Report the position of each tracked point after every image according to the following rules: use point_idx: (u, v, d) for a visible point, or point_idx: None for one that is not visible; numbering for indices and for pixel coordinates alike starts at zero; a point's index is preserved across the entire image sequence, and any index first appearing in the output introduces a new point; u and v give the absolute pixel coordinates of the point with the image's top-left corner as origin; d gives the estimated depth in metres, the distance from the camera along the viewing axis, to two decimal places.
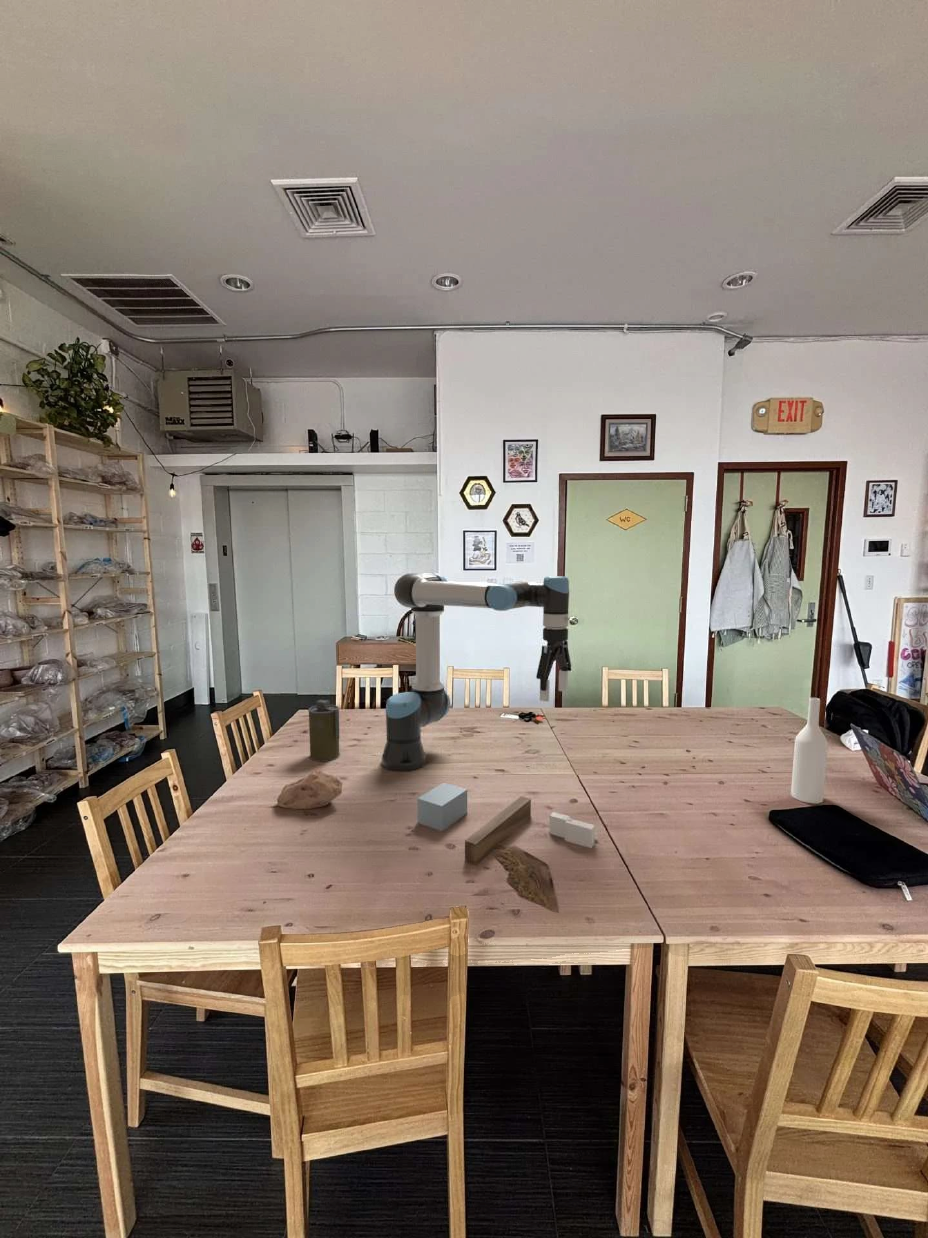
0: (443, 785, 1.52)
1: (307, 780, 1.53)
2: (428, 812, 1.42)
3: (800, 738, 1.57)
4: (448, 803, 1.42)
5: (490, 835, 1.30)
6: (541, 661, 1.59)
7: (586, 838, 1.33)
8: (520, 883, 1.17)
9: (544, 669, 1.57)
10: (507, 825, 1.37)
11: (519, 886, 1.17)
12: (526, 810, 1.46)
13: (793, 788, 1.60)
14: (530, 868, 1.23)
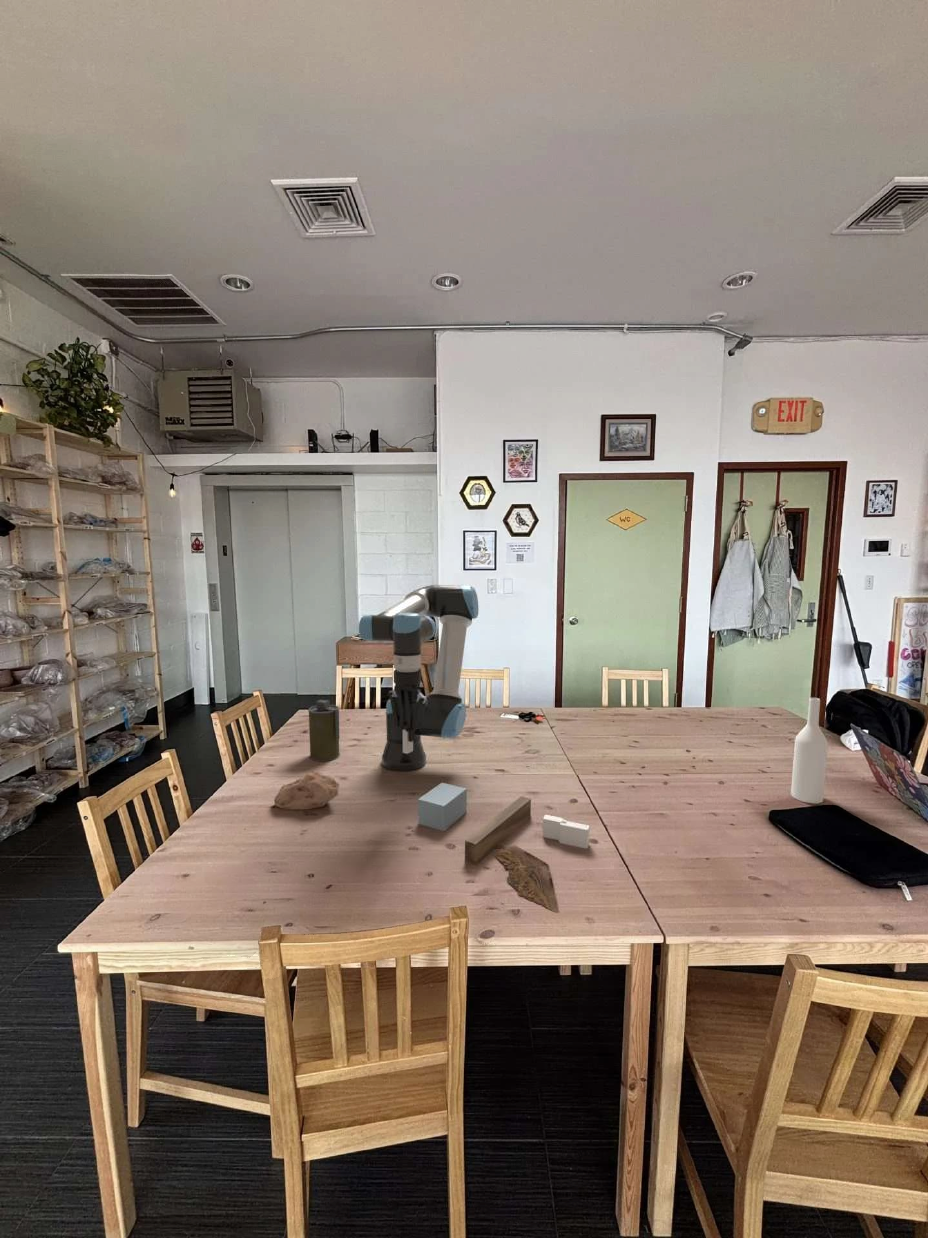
0: (441, 785, 1.52)
1: (303, 781, 1.52)
2: (429, 812, 1.42)
3: (800, 738, 1.57)
4: (449, 803, 1.42)
5: (490, 835, 1.30)
6: None
7: (582, 839, 1.32)
8: (520, 883, 1.17)
9: None
10: (507, 825, 1.37)
11: (519, 886, 1.17)
12: (526, 810, 1.46)
13: (793, 788, 1.60)
14: (530, 868, 1.23)
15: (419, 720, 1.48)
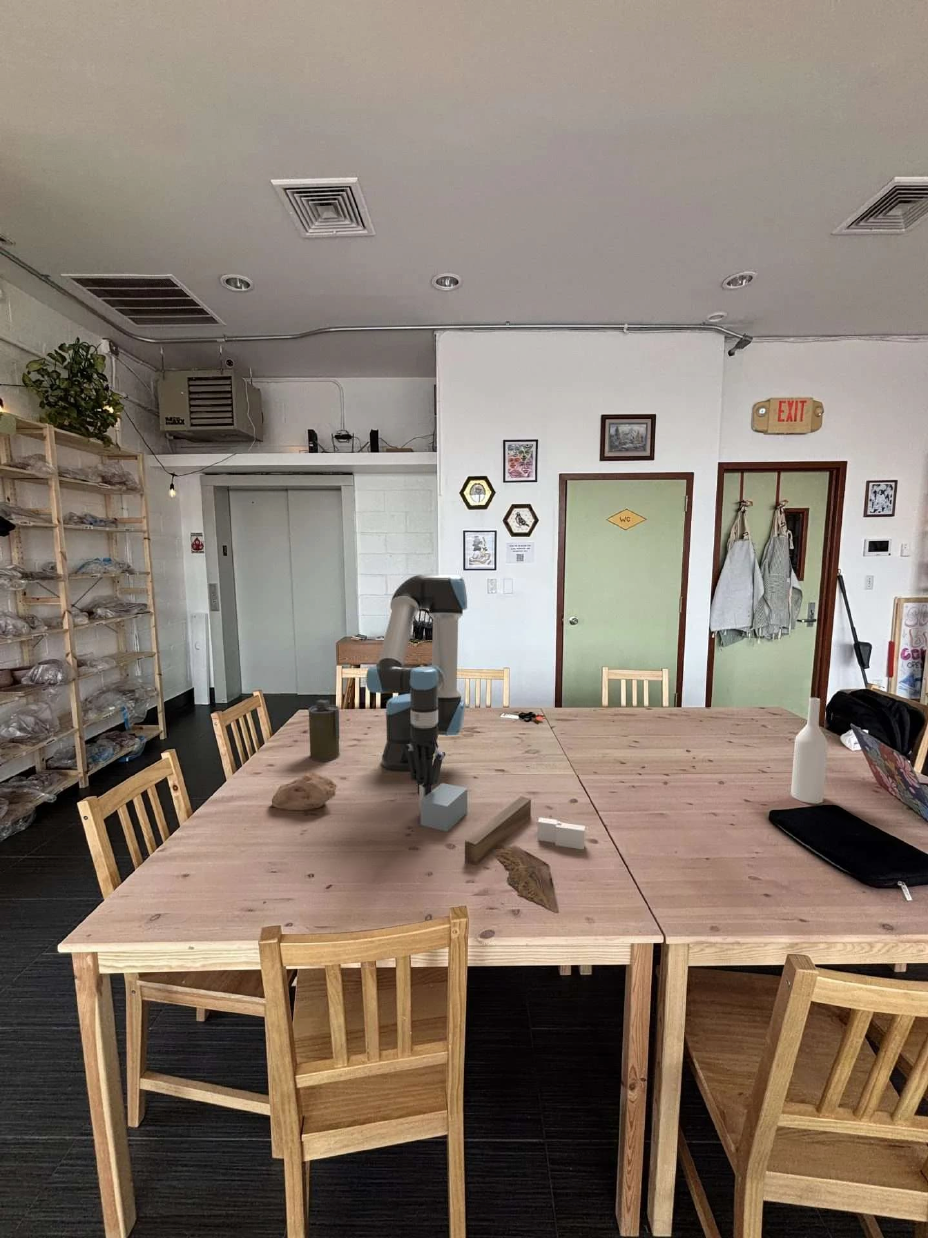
0: (442, 785, 1.52)
1: (300, 781, 1.52)
2: (432, 813, 1.41)
3: (800, 738, 1.57)
4: (452, 803, 1.42)
5: (490, 835, 1.30)
6: None
7: (578, 840, 1.32)
8: (520, 883, 1.17)
9: None
10: (507, 825, 1.37)
11: (519, 886, 1.17)
12: (526, 810, 1.46)
13: (793, 788, 1.60)
14: (530, 868, 1.23)
15: (436, 776, 1.47)
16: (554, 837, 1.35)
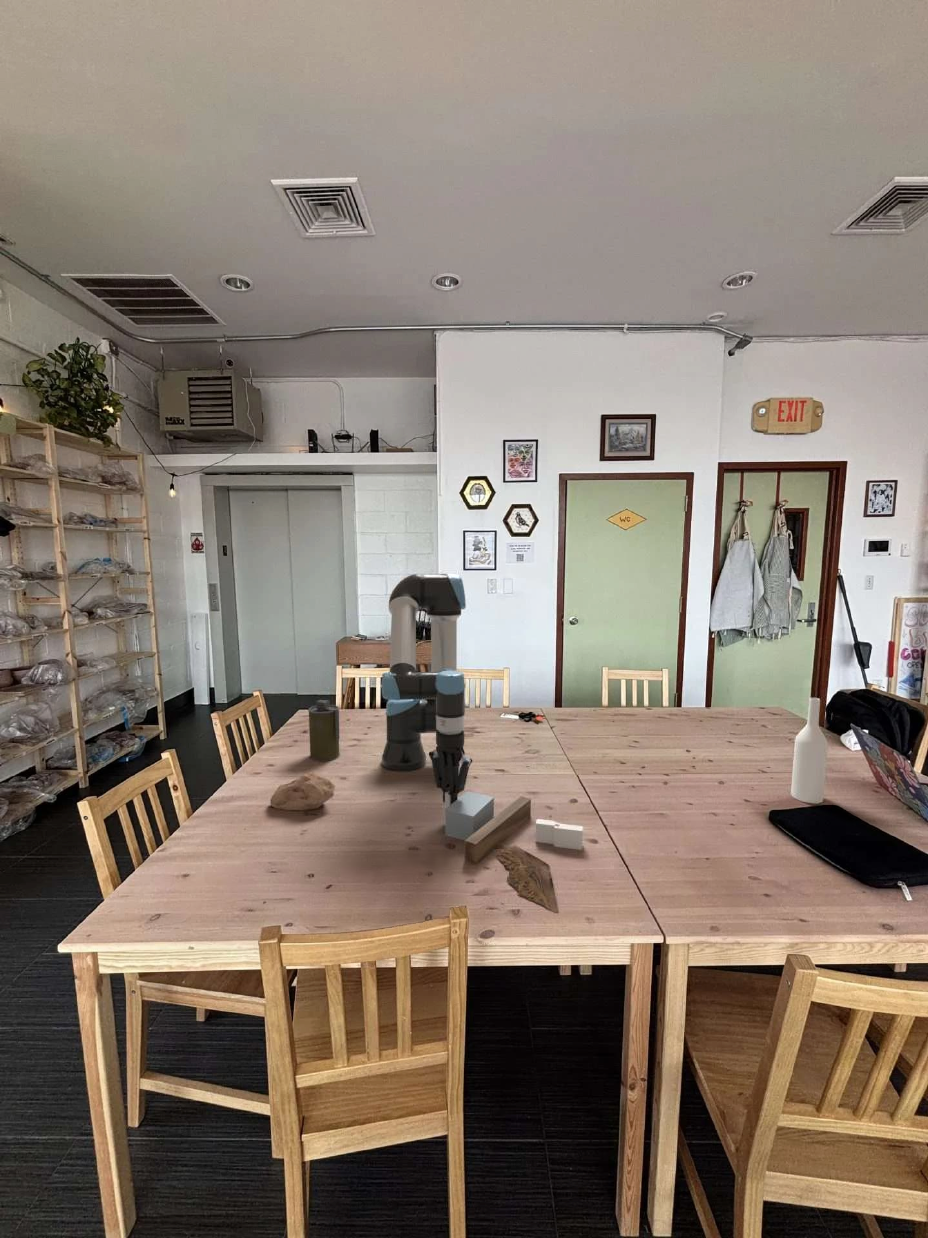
0: (467, 794, 1.46)
1: (299, 782, 1.52)
2: (457, 823, 1.36)
3: (800, 738, 1.57)
4: (478, 813, 1.37)
5: (490, 835, 1.30)
6: None
7: (577, 841, 1.32)
8: (520, 883, 1.17)
9: None
10: (507, 825, 1.37)
11: (519, 885, 1.17)
12: (526, 810, 1.46)
13: (793, 788, 1.60)
14: (530, 868, 1.23)
15: (463, 783, 1.42)
16: (552, 838, 1.34)
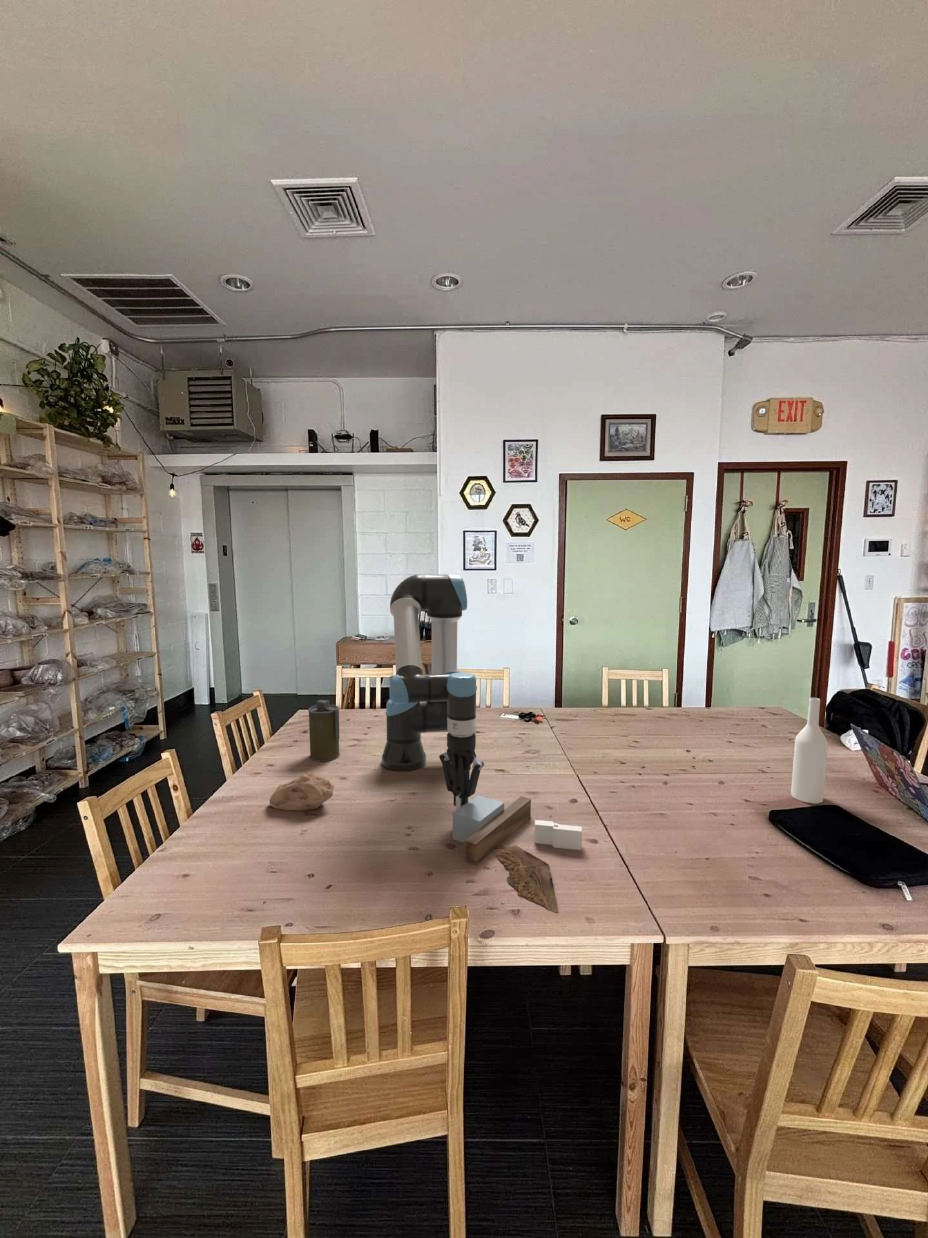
0: (477, 798, 1.44)
1: (298, 782, 1.52)
2: (464, 827, 1.34)
3: (800, 738, 1.57)
4: (486, 818, 1.34)
5: (490, 835, 1.30)
6: None
7: (576, 841, 1.31)
8: (520, 883, 1.17)
9: None
10: (507, 825, 1.37)
11: (519, 886, 1.17)
12: (526, 810, 1.46)
13: (793, 788, 1.60)
14: (531, 868, 1.23)
15: (474, 787, 1.40)
16: (551, 839, 1.34)
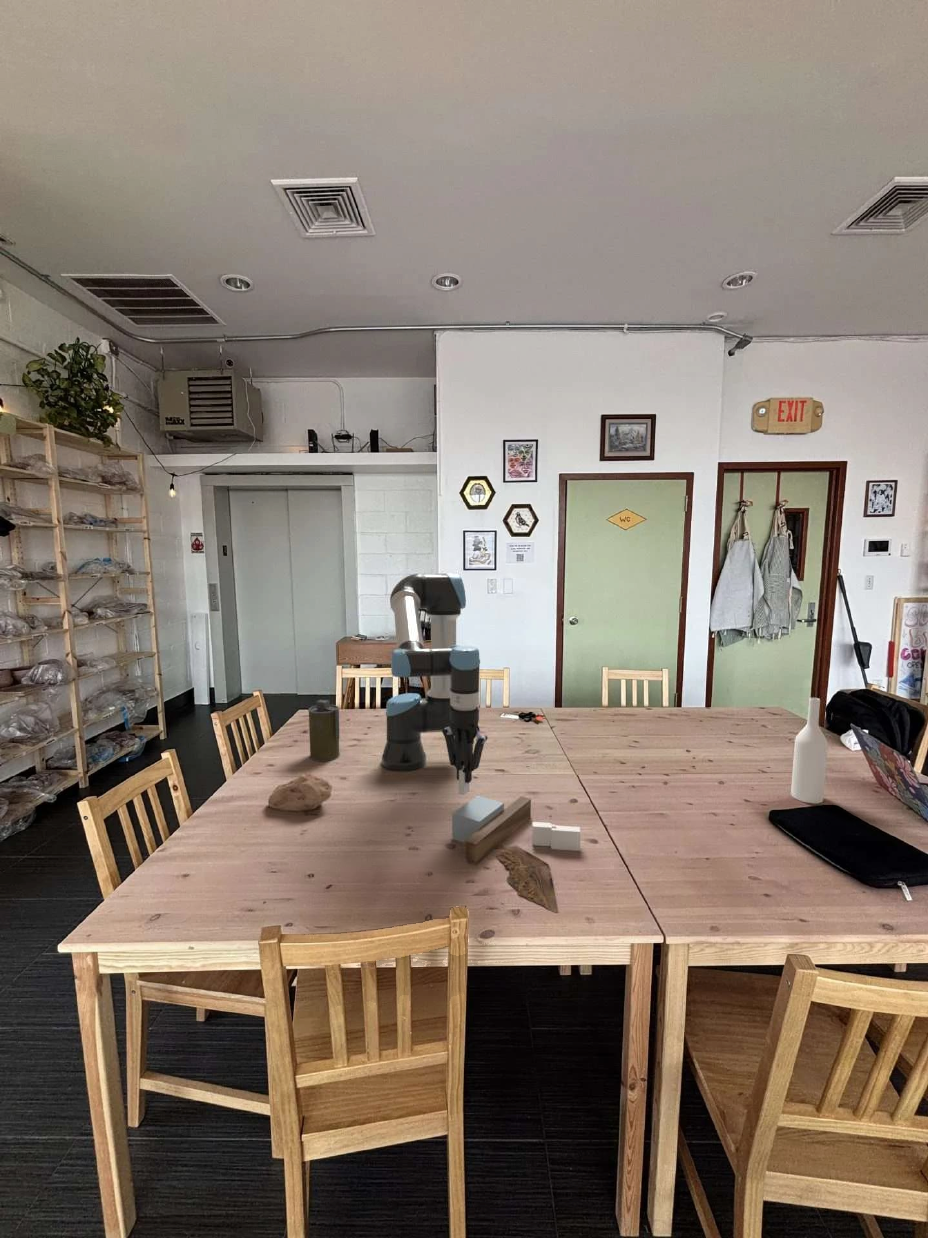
0: (477, 798, 1.44)
1: (296, 782, 1.51)
2: (464, 827, 1.34)
3: (800, 738, 1.57)
4: (485, 818, 1.34)
5: (490, 835, 1.30)
6: None
7: (574, 842, 1.31)
8: (520, 883, 1.17)
9: None
10: (507, 825, 1.37)
11: (519, 886, 1.17)
12: (526, 810, 1.46)
13: (793, 788, 1.60)
14: (531, 868, 1.23)
15: (477, 761, 1.39)
16: (549, 841, 1.33)
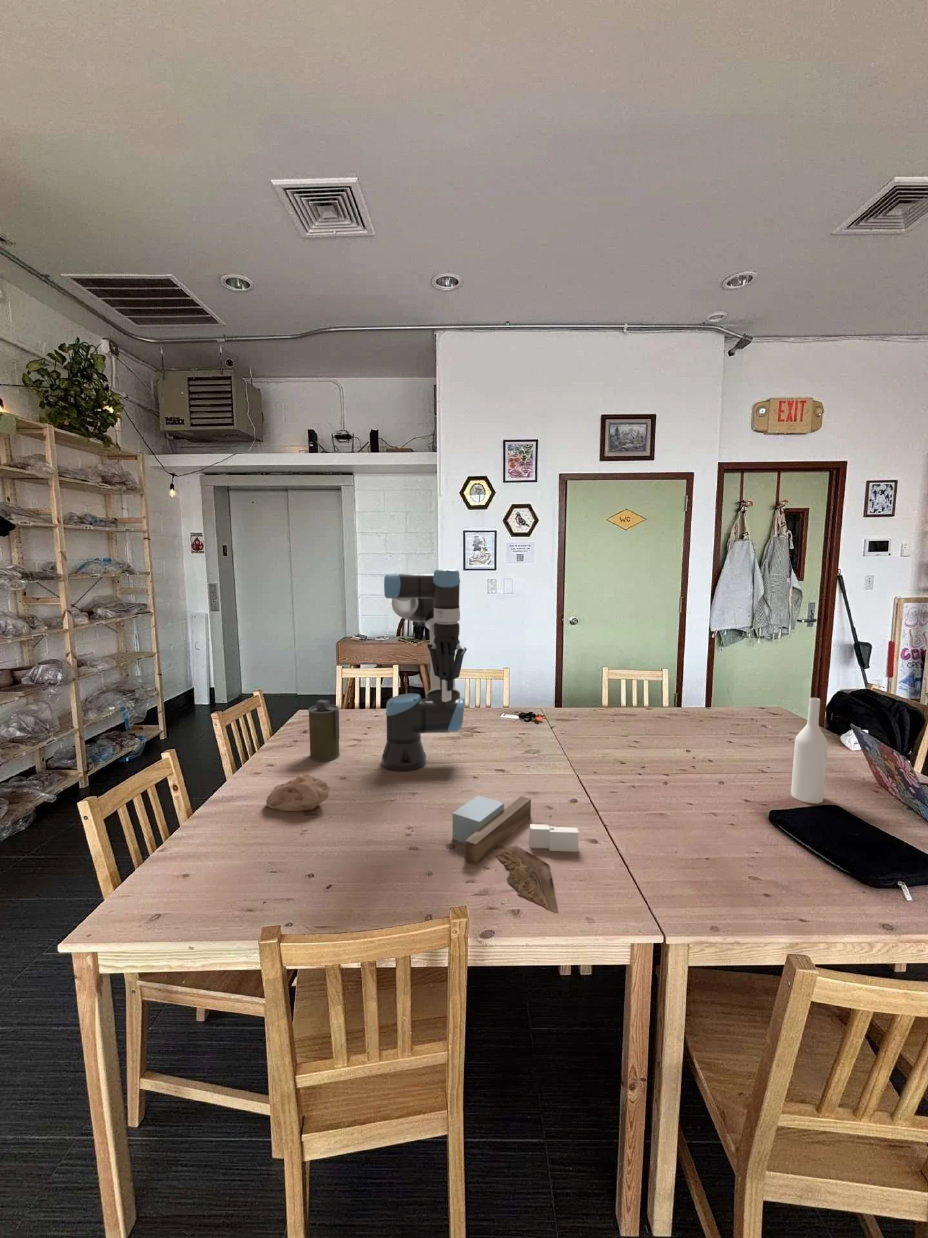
0: (477, 798, 1.44)
1: (294, 782, 1.51)
2: (464, 827, 1.34)
3: (800, 738, 1.57)
4: (485, 818, 1.34)
5: (490, 835, 1.30)
6: None
7: (573, 843, 1.31)
8: (520, 883, 1.17)
9: None
10: (507, 825, 1.37)
11: (519, 885, 1.17)
12: (526, 810, 1.46)
13: (793, 788, 1.60)
14: (531, 868, 1.23)
15: (458, 670, 1.57)
16: (547, 843, 1.32)
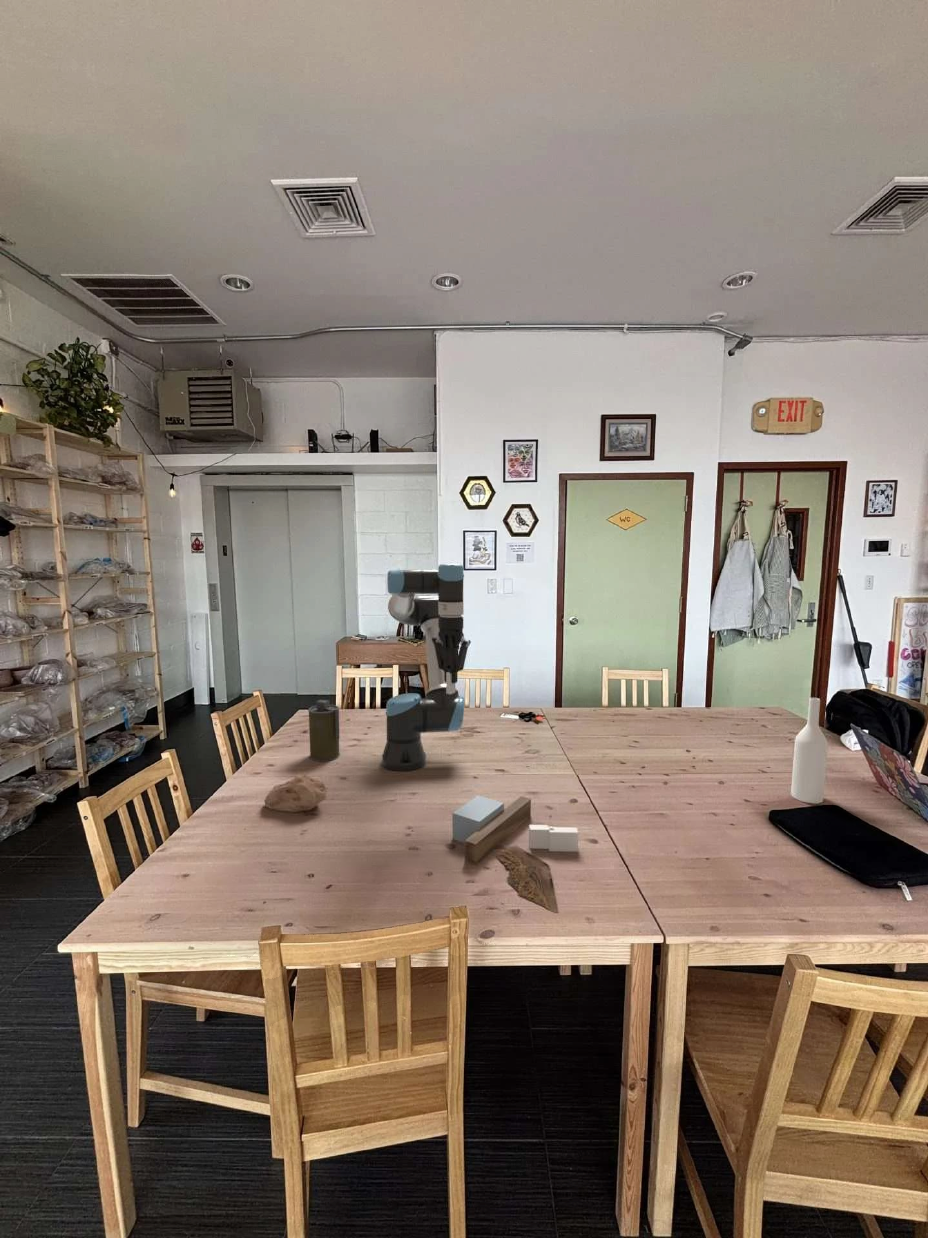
0: (477, 798, 1.44)
1: (292, 783, 1.51)
2: (464, 827, 1.34)
3: (800, 738, 1.57)
4: (485, 818, 1.34)
5: (490, 835, 1.30)
6: None
7: (572, 843, 1.31)
8: (520, 883, 1.17)
9: None
10: (507, 825, 1.37)
11: (519, 886, 1.17)
12: (526, 810, 1.46)
13: (793, 788, 1.60)
14: (531, 868, 1.23)
15: (462, 662, 1.61)
16: (547, 843, 1.32)
